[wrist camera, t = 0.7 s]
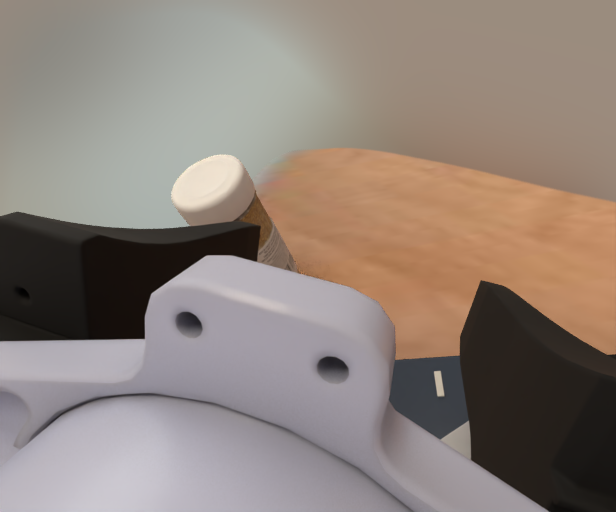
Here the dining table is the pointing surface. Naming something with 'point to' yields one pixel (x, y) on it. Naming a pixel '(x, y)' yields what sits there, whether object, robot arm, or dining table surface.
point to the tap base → (430, 393)
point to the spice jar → (229, 204)
